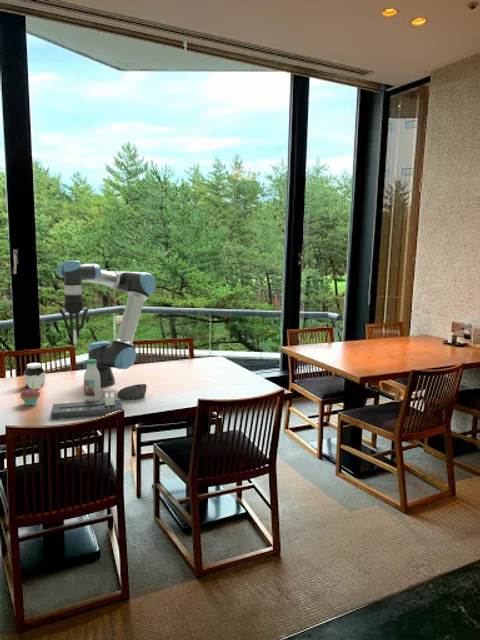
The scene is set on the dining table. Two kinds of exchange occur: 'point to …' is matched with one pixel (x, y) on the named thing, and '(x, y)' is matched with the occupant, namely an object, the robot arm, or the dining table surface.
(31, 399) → the cupcake
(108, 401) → the fader knob
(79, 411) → the fader console
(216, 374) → the dining table surface
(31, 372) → the spread jar
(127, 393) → the perforated stone tool
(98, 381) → the milk bottle
